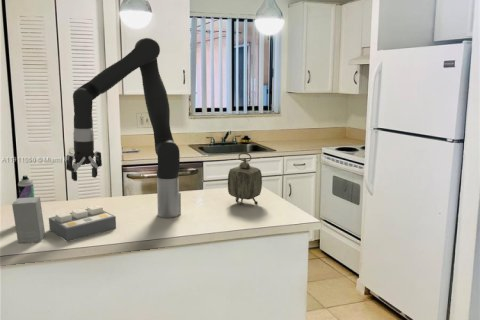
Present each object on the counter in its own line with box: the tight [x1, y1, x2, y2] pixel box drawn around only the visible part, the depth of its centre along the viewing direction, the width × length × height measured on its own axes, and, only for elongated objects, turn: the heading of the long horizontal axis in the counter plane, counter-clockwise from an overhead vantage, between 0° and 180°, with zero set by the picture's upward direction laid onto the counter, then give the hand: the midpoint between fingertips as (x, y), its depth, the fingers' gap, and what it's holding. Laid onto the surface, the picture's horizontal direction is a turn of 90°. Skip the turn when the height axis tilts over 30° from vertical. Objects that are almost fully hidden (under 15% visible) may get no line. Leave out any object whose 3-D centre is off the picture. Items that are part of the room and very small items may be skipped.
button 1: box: [55, 211, 72, 223], centre depth 170 cm, size 4×4×3 cm
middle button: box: [71, 208, 88, 219], centre depth 175 cm, size 4×4×3 cm
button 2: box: [86, 204, 104, 215], centre depth 179 cm, size 4×4×3 cm
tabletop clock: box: [227, 152, 263, 206], centre depth 206 cm, size 14×9×25 cm, turn 58°
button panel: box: [48, 208, 117, 242], centre depth 174 cm, size 20×16×5 cm
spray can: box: [17, 175, 35, 198], centre depth 178 cm, size 6×6×20 cm
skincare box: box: [11, 196, 46, 244], centre depth 162 cm, size 8×7×16 cm
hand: (84, 178), depth 177 cm, fingers open, 8 cm apart
